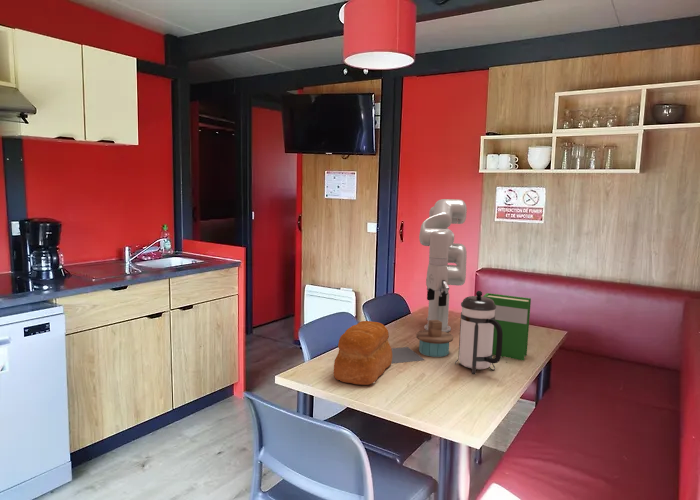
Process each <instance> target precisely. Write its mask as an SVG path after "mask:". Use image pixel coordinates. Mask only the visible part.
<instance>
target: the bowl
mask: <svg viewBox="0 0 700 500" xmlns="http://www.w3.org/2000/svg"><path fill="white" fill-rule="evenodd" d="M418 344H419V345H418V352H419V353H420V354H421V355H424V356H427V357H434V358H442V357H446V356H448V355H449V352H450V342H449V343H444V344H434V343H427V342H423V341H421V340H419V343H418Z"/></svg>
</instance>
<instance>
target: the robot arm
mask: <svg viewBox="0 0 700 500" xmlns="http://www.w3.org/2000/svg"><path fill="white" fill-rule="evenodd" d="M467 210H468V208H467V204H466V202H465V201H464V200H462V199H456V198H455V199H452V198H450V199H447V198H444V199H438V200H437V201H436V202H435V203H434V205H433V206H432V207H431V208H430V209H429V211H428V214H429V217H428V218H426V219H425V220H423V221H422V223H421V225H420V230H419V234H418V235H419V236H418V239H419V243H420V244H421V246H425V247H429V250H428V253H429V255H428V265H427V270H426V278H425V279H426V280H425V285H426V293H427V295H426V301H428V310H427V311H428V312H427V318H426V321H427V323H426V324H425V325H424V326H423V327H424V329H425V330H428V325H429V320H439V321H441V322H442V331H444V332H447V333H449V332H450V331H452V327H451V326H450V325H449V324H448V323H449V308H450V307H449V306H450V293H449V292H450V291H449V290H450V287H449V286H463V285H464V284H465V283H466V278H467V258H468V257H467V247H466V245H464V244H462V243H456V242H455V233H454V232H453V231H452V230H451V229H450V227H451V225H462V224H464V223H465V221H466V219H467V212H468V211H467ZM454 242H455V243H454Z"/></svg>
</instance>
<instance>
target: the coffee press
mask: <svg viewBox="0 0 700 500" xmlns="http://www.w3.org/2000/svg"><path fill="white" fill-rule="evenodd" d="M475 294H476V295H470V296H467V297H465V298H463V300H462V301H461V302H460V306H461V312H460V321H459V322H460V323H459V341H458V349H459V350H458V359H457V360H456V361H455V362H454V365H456V363H457V362H458V361H459V364H458V366H460V365H462V366H464V367H465V368H469V369H471V375H476V372H477V371H476V370H484V369H487V368H488V369H490V370H491V371H493V372H494V371H496V366H495V365H494V364H497V363H499V362H500V361H501V359H502V356H501V353H502V339H503V332H502V328H501V325H500V324H499V322H497V321H496V320H495V309H496V305H495V303H494V301H493V300H492V299H490V298H487V297H483V292H482V291H481V290H477V291H476V293H475ZM494 326H495V327H496V330H497V345H496V355H493V351H492V347H493V341H494V336H493V332H494ZM493 357H494V358H493ZM491 365H492V367H493V368H492V367H491Z"/></svg>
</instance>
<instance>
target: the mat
mask: <svg viewBox="0 0 700 500" xmlns="http://www.w3.org/2000/svg"><path fill="white" fill-rule="evenodd" d="M391 349H392V362H391V365H392V364H401V363H412V362H419V361H420V362H423V361H426V359H425V358H423V357H422V356H420V355H419V354H418V353H417V352H416V351H414V350H413V349H411V348H410V347H409V346H405V347H393V348H392V347H391Z"/></svg>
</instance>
